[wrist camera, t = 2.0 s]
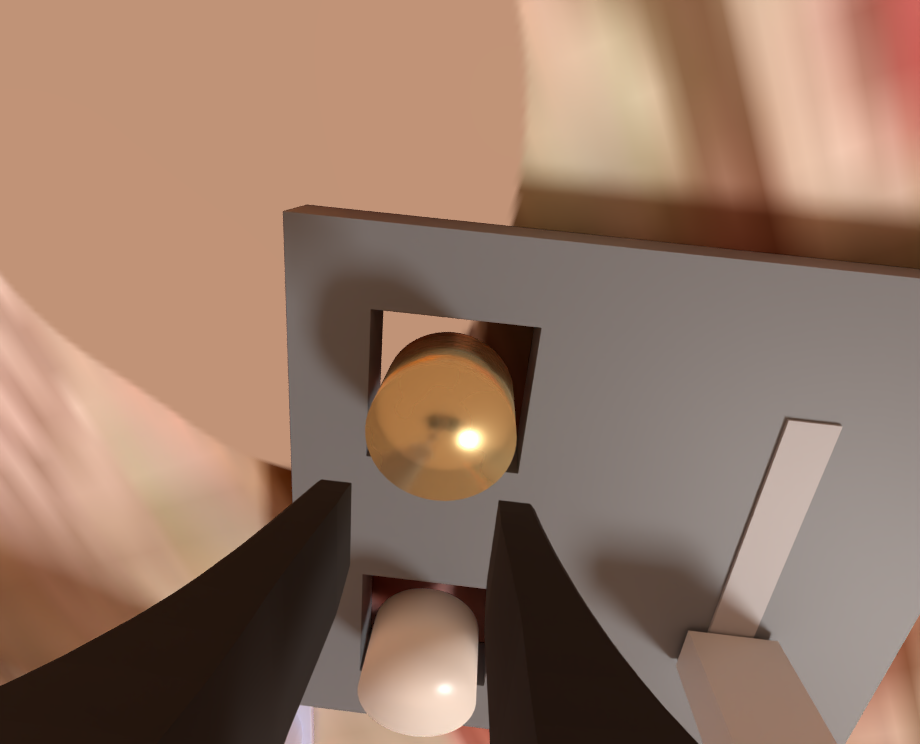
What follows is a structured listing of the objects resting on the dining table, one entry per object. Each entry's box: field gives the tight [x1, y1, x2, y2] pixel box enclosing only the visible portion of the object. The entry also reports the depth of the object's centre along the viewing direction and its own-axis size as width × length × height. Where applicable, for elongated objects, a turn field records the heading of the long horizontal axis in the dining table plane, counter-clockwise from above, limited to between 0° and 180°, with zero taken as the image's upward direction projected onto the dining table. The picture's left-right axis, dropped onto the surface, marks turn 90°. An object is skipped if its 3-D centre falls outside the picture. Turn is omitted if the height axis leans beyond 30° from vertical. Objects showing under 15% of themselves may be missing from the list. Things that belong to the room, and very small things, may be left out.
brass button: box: [365, 332, 517, 501], centre depth 15 cm, size 4×4×3 cm
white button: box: [358, 588, 479, 737], centre depth 19 cm, size 4×4×3 cm
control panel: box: [283, 205, 920, 744], centre depth 19 cm, size 22×20×2 cm
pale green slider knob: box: [676, 630, 837, 744], centre depth 17 cm, size 3×2×5 cm, turn 85°
